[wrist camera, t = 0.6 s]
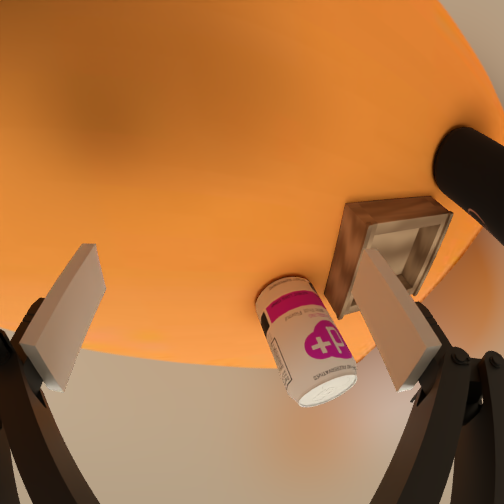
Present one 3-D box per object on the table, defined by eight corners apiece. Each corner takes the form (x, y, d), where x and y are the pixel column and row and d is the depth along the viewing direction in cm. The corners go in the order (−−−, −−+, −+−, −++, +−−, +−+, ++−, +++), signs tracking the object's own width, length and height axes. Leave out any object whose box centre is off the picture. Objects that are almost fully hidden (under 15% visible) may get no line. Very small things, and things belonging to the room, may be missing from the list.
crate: (345, 202, 33) (368, 225, 30) (430, 194, 37) (453, 213, 33) (323, 294, 43) (338, 320, 40) (400, 275, 47) (416, 295, 43)
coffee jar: (421, 190, 36) (515, 277, 22) (442, 117, 29) (559, 190, 16) (462, 191, 39) (542, 263, 25) (481, 130, 32) (575, 194, 19)
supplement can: (272, 268, 37) (324, 373, 26) (321, 279, 41) (375, 369, 30) (243, 312, 41) (278, 412, 29) (291, 318, 45) (331, 405, 33)
